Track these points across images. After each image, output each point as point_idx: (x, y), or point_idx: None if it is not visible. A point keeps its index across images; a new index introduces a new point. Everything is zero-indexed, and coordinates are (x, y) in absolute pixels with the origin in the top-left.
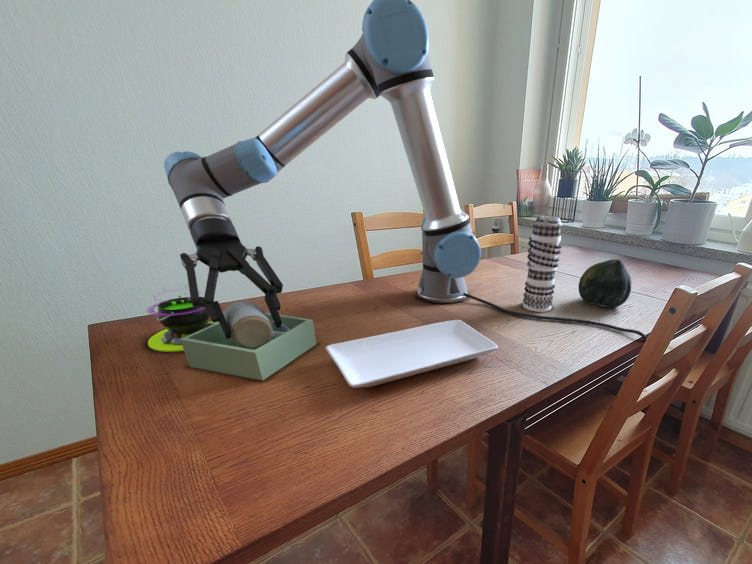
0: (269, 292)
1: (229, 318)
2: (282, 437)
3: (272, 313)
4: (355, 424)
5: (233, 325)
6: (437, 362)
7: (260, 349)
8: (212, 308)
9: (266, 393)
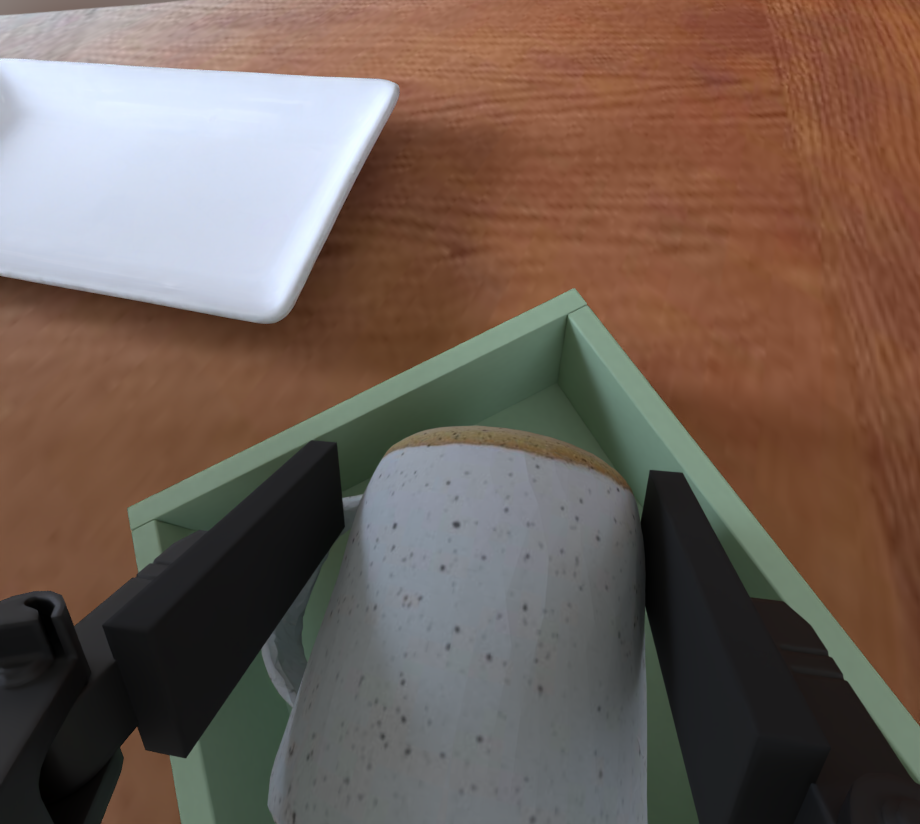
0: (104, 625)
1: (623, 624)
2: (615, 106)
3: (295, 539)
4: (464, 72)
5: (621, 487)
6: (134, 128)
7: (542, 304)
8: (810, 706)
9: (580, 288)
